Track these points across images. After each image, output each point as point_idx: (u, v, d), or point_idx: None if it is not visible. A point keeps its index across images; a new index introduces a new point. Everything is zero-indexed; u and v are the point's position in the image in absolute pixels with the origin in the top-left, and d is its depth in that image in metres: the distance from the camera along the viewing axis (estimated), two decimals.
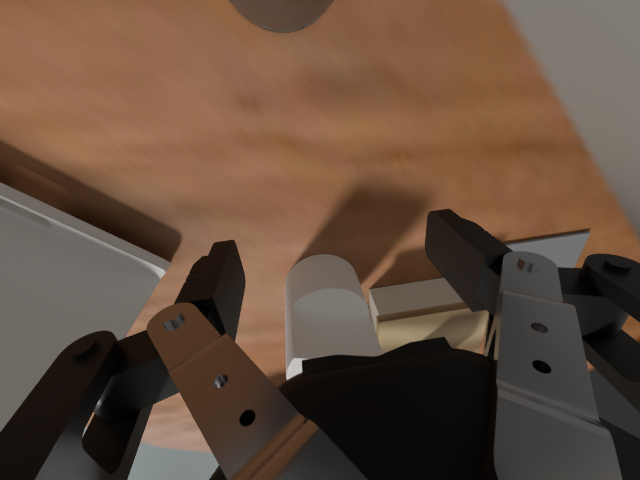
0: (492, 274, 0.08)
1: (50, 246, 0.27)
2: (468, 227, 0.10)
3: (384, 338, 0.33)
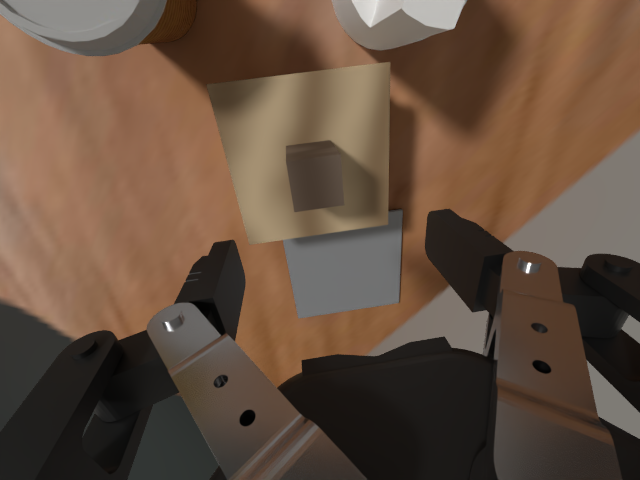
0: (492, 274, 0.08)
1: None
2: (468, 227, 0.10)
3: (351, 77, 0.20)
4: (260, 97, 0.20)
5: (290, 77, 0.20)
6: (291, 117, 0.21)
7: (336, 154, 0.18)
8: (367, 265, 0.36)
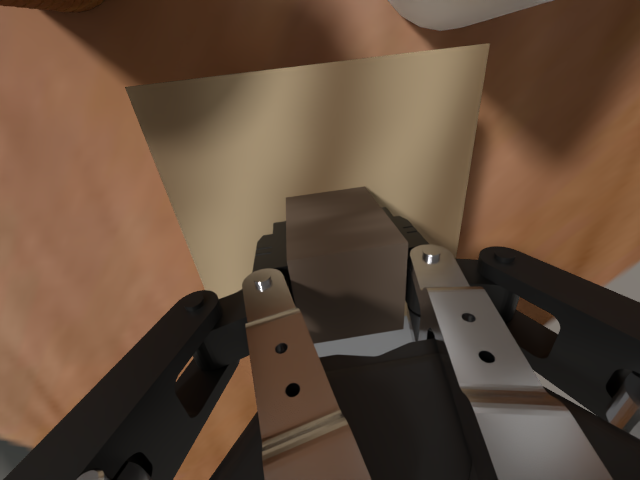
0: None
1: None
2: (394, 223, 0.11)
3: (412, 73, 0.11)
4: (236, 112, 0.10)
5: (294, 73, 0.10)
6: (296, 148, 0.11)
7: (397, 241, 0.08)
8: (397, 336, 0.26)
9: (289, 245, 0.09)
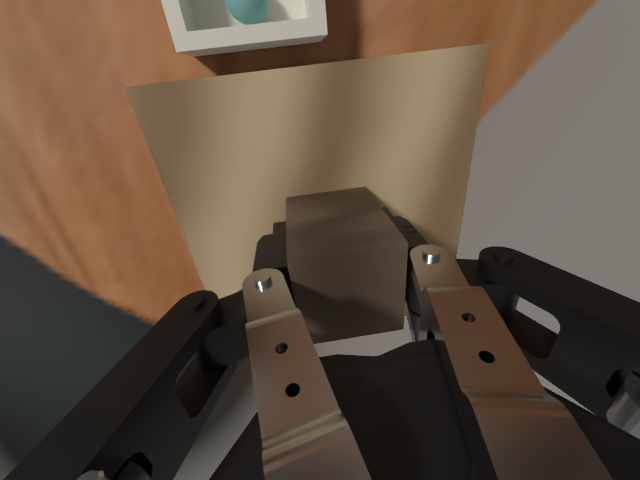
0: None
1: None
2: (394, 223, 0.11)
3: (412, 73, 0.11)
4: (236, 112, 0.10)
5: (294, 73, 0.10)
6: (296, 148, 0.11)
7: (397, 241, 0.08)
8: None
9: (289, 245, 0.09)
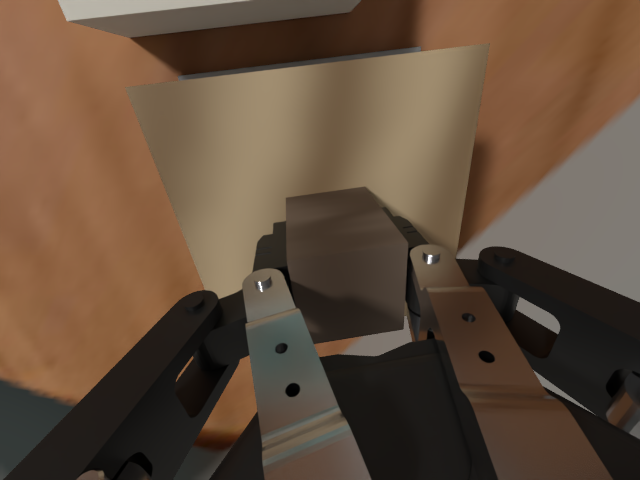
0: None
1: None
2: (394, 223, 0.11)
3: (412, 73, 0.11)
4: (236, 112, 0.10)
5: (294, 74, 0.10)
6: (296, 148, 0.11)
7: (397, 241, 0.08)
8: None
9: (289, 245, 0.09)
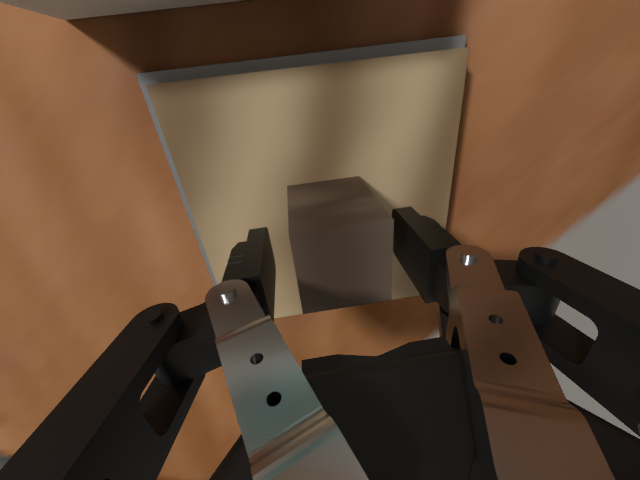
0: (439, 266, 0.09)
1: None
2: (423, 223, 0.10)
3: (400, 73, 0.12)
4: (243, 107, 0.12)
5: (295, 73, 0.11)
6: (296, 141, 0.13)
7: (385, 219, 0.10)
8: None
9: (291, 223, 0.10)
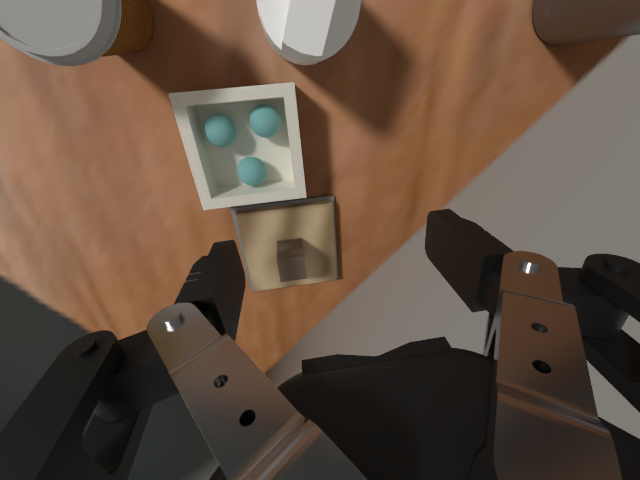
0: (492, 274, 0.08)
1: None
2: (468, 227, 0.10)
3: (312, 209, 0.38)
4: (263, 219, 0.38)
5: (279, 210, 0.38)
6: (280, 227, 0.39)
7: (302, 256, 0.36)
8: None
9: (277, 256, 0.36)
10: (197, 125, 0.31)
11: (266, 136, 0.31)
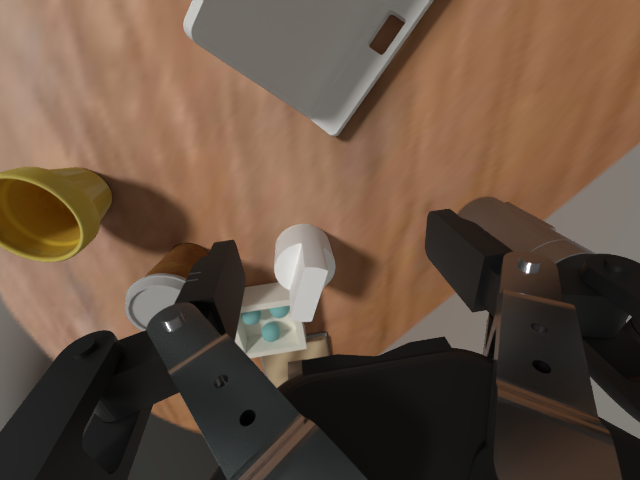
0: (492, 274, 0.08)
1: (354, 39, 0.32)
2: (468, 227, 0.10)
3: (311, 344, 0.56)
4: None
5: None
6: (289, 355, 0.57)
7: None
8: None
9: None
10: None
11: None
